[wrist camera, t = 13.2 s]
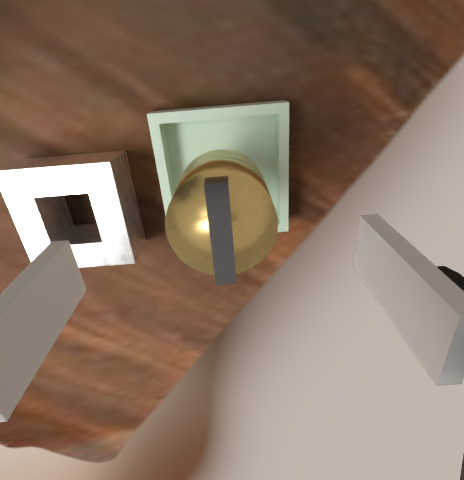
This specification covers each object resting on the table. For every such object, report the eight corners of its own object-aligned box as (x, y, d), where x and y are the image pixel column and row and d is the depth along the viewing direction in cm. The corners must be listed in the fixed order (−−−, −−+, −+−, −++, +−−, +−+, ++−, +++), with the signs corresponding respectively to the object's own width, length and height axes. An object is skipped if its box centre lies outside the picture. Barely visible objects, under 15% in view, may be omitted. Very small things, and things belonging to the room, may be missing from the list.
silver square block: (25, 158, 28) (-8, 171, 24) (125, 150, 28) (109, 162, 24) (58, 247, 32) (34, 271, 28) (145, 240, 32) (134, 263, 28)
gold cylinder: (192, 207, 30) (171, 290, 18) (183, 138, 27) (150, 184, 16) (259, 202, 30) (281, 282, 18) (257, 132, 27) (280, 174, 15)
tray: (153, 110, 27) (146, 113, 24) (283, 100, 27) (289, 102, 24) (173, 228, 32) (170, 240, 29) (283, 220, 32) (288, 231, 29)
